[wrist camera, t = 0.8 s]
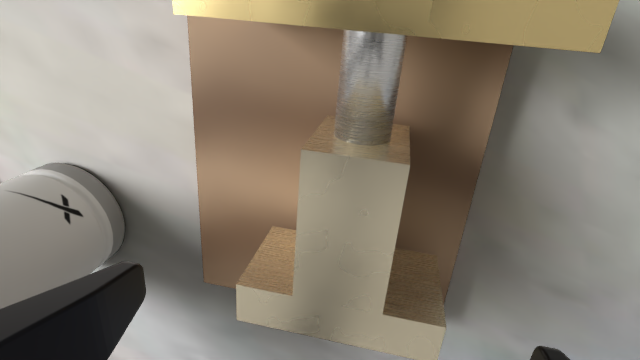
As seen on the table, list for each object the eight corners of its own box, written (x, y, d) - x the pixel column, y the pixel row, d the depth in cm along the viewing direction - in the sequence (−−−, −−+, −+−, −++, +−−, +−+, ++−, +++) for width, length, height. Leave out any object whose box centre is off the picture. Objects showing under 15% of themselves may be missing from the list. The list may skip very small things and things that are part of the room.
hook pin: (429, 286, 16) (436, 364, 13) (271, 256, 17) (236, 320, 14) (526, -110, 11) (587, -174, 7) (282, -118, 12) (227, -177, 8)
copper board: (434, 308, 20) (436, 330, 18) (216, 265, 22) (203, 282, 20) (536, -87, 13) (552, -99, 11) (200, -101, 15) (179, -112, 13)
